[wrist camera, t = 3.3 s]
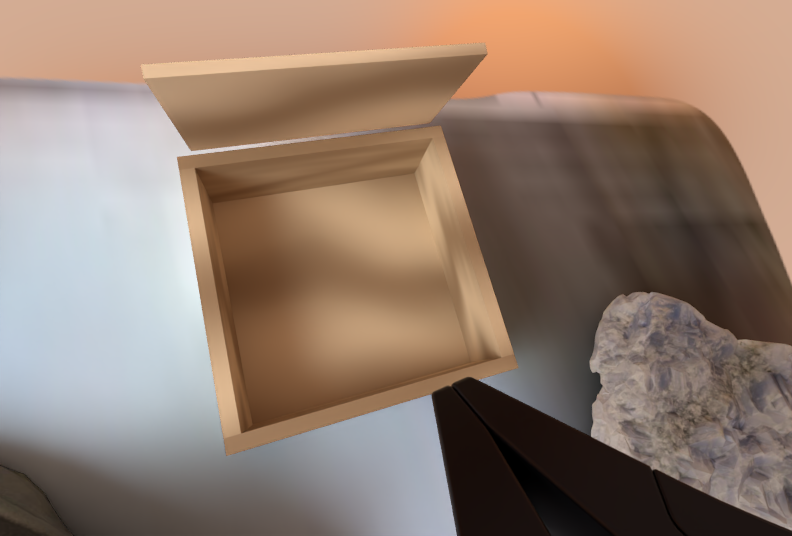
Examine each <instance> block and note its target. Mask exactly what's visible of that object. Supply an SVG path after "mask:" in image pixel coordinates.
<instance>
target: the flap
mask: <svg viewBox="0 0 792 536" xmlns="http://www.w3.org/2000/svg"><path fill="white" fill-rule="evenodd" d="M486 55H487V49H486V45H485V43H475V44H474V43H473V44H458V45H442V46H426V47H411V48H395V49H380V50H363V51H349V52H332V53H316V54H301V55H286V56H270V57H255V58H254V57H253V58H238V59H222V60H206V61H191V62H176V63H160V64H144V65H141V69H142V74H143V79H144V80H145V82H146V83H147V85H148V86H149V88H150V89H151V91H152V92H153V94H154V95H155V97H156V98H157V100H158V101H159V103H160V105H161V106H162V108H163V109H164V111H165V112H166V114H167V115H168V117H169V118H170V120H171V121H172V123H173V124H174V126H175V127H176V129H177V130H178V132H179V133H180V135H181V136H182V138H183V139H184V141H185V143H186V144H187V146H188V147H189V149H190V150H191V151H195V150H204V149H212V148H221V147H229V146H238V145H247V144H255V143H264V142H272V141H281V140H290V139H298V138H307V137H315V136H324V135H333V134H341V133H350V132H358V131H367V130H376V129H384V128H393V127H401V126H410V125H418V124H427V123H430V122H431V121H432V120H433V119H434V117H435V116H436V115H437V114H438V113H439V111H440V110H441V109H442V108H443V107H444V105H445V104H446V103H447V102H448V101H449V99H450V98H451V97H452V96H453V95H454V94H455V92H456V91H457V90H458V89H459V88H460V86H461V85H462V84H463V83H464V82H465V80H466V79H467V78H468V77H469V76H470V74H471V73H472V72H473V71H474V69H475V68H476V67H477V66H478V65H479V63H480V62H481V61H482V60H483V59H484V57H485V56H486Z"/></svg>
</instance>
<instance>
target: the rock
mask: <svg viewBox="0 0 792 536" xmlns="http://www.w3.org/2000/svg"><path fill="white" fill-rule="evenodd" d="M590 368H591V371H592V373H594V372H598V373H600V376H601V382H600V383H601V384H602V385H603V387H602V389H601V391H600V392H599V394H597V399H596V401H595V402H594V403H593V404H592V418H593V426H592V429H591V437H593V438H595V439H597V440H599V441H601V442H603V443H605V444H607V445H609V446H611V447H613V448H615V449H617V450H619V451H621V452H623V453H625V454H627V455H629V456H631V457H633V458H635V459H637V460H639V461H641V462H643V463H645V464H647V465H649V466H650V467H651V469H652V471H653V469H657V470H659V471H661V472H663V473H665V474H667V475H669V476H671V477H673V478H675V479H677V480H679V481H681V482H683V483H685V484H687V485H689V486H692V487H694V488H696V489H698V490H700V491H702V492H704V493H706V494H708V495H711V496H713V497H715V498H717V499H719V500H721V501H723V502H726V503H728V504H730V505H733V506H735V507H737V508H740V509H742V510H744V511H747V512H749V513H751V514H754V515H756V516H758V517H761V518H763V519H765V520H768V521H770V522H772V523H775V524H777V525H780V526H782V527H785V528H787V529H789V530H792V346H790V345H787V344H781V343H772V342H763V341H753V340H747V339H744V340H737V339H736V338H735V337H734V335H733V334H732V333H731V332H730V331H729V330H728V329H722V328H720V327H718V326H716V325H714V324H712V323H711V322H709V321H707V320H705V317H704V316H703V315H702V314H701V313H699V312H698V311H697V310H696V309H695V308H694V307H693V306H691V305H690V304H688V303H687V302H684V301H681V300H679V299H676V298H673V297H670V296H667V295H663V294H660V293H656V292H651V293H650V294H648V293H645V292H634V293H632V294H630V295H628V296H627V297H626V296H625V295H624V294H622V295H620V296H618V297H617V298H616V299H615V300H613V301H612V302H611V303H610V305H609V306H608V307H607V308H606V310H605V311H604V312H603V316H602V319H601V321H600V322H599V326H598V329H597V331H596V335H595V346H594V351H593V354H592V357H591V359H590Z"/></svg>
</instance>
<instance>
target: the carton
mask: <svg viewBox="0 0 792 536" xmlns="http://www.w3.org/2000/svg"><path fill="white" fill-rule="evenodd" d="M177 160H178V166H179V172H180V178H181V184H182V190H183V196H184V202H185V208H186V214H187V220H188V226H189V232H190V238H191V245H192V251H193V257H194V263H195V269H196V275H197V281H198V287H199V293H200V299H201V305H202V311H203V317H204V323H205V329H206V335H207V341H208V347H209V353H210V359H211V365H212V371H213V377H214V384H215V390H216V396H217V402H218V408H219V414H220V420H221V426H222V432H223V438H224V444H225V450H226V456H228V455H231V454H235V453H238V452H241V451H245V450H248V449H251V448H254V447H258V446H261V445H264V444H268V443H271V442H274V441H278V440H281V439H284V438H288V437H291V436H294V435H297V434H301V433H304V432H307V431H311V430H314V429H317V428H321V427H324V426H327V425H331V424H334V423H337V422H340V421H344V420H347V419H350V418H354V417H357V416H360V415H364V414H367V413H370V412H373V411H377V410H380V409H383V408H387V407H390V406H393V405H397V404H400V403H403V402H407V401H410V400H413V399H416V398H420V397H423V396H426V395H430V394H432V392H433V391H436V390H438V389H440V388H442V387H445V386H447V385H449V386H451V385H452V383H454V382H456V381H458V380H460V379H463V378H465V377H472V378H474V379H476V380H479V379H483V378H486V377H489V376H493V375H496V374H499V373H502V372H506V371H509V370H512V369H516V368H518V365H517V362H516V359H515V356H514V352H513V349H512V346H511V343H510V340H509V337H508V334H507V331H506V328H505V324H504V321H503V318H502V315H501V312H500V309H499V306H498V303H497V300H496V296H495V293H494V290H493V287H492V284H491V281H490V278H489V275H488V271H487V268H486V265H485V262H484V259H483V256H482V253H481V250H480V247H479V243H478V240H477V237H476V234H475V231H474V228H473V225H472V222H471V219H470V215H469V212H468V209H467V206H466V203H465V200H464V197H463V194H462V190H461V187H460V184H459V181H458V178H457V175H456V172H455V169H454V166H453V162H452V159H451V156H450V153H449V150H448V147H447V144H446V141H445V138H444V134H443V131H442V128H441V126H434V127H425V128H417V129H409V130H400V131H392V132H383V133H375V134H367V135H358V136H350V137H341V138H333V139H325V140H316V141H308V142H299V143H291V144H283V145H274V146H266V147H257V148H249V149H241V150H232V151H224V152H215V153H207V154H199V155H190V156H182V157H177Z"/></svg>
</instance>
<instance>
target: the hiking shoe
mask: <svg viewBox="0 0 792 536" xmlns="http://www.w3.org/2000/svg"><path fill="white" fill-rule="evenodd" d="M0 536H74V535H73V534H72V533H71V532H70V531H69V530H68V529H67V528H66V526H65V525H64V524H63V522H62V521H61V519H60V518H59V517H58V515H57V514H56V512H55V511H54V509H53V508H52V506H51V504H50V502H49V500H48V499H47V497H46V495H45V494H44V492H43V491H42V490H41V489H39V488H38V487H37V486H36V485H35V484H34V483H32V482H31V481H30V479H29V478H28V477H27V476H26V475H25V474H22V473H19V472H16V471H13V470H10V469H8V468H6V467H3V466H1V465H0Z"/></svg>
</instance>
